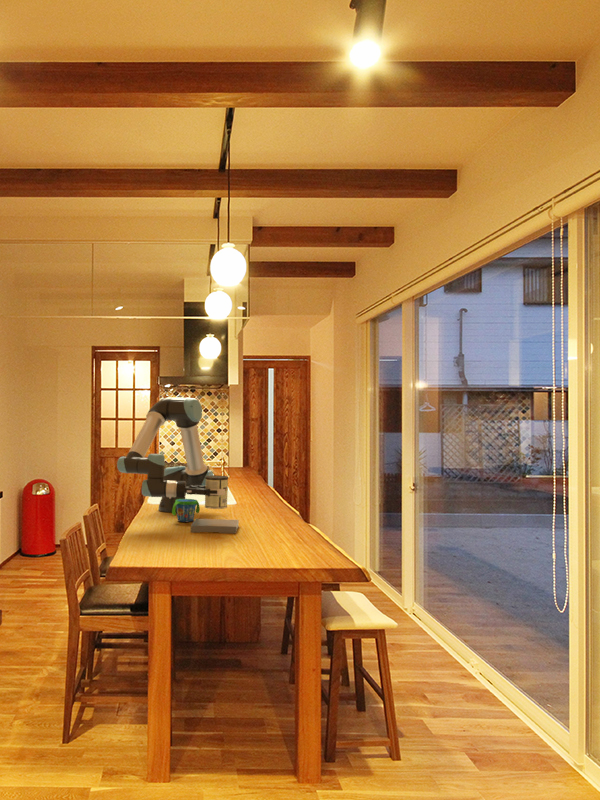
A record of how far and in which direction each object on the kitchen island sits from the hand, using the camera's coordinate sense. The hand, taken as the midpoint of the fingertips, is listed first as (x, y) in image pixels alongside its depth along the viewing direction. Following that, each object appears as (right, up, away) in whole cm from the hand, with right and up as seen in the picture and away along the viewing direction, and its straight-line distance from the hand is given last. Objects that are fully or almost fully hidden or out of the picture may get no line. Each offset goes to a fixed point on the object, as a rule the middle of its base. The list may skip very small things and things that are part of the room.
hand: (225, 490), depth 303 cm
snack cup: (-21, -17, +18) cm, 33 cm away
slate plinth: (-5, -17, 0) cm, 18 cm away
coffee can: (-5, -8, 0) cm, 9 cm away
